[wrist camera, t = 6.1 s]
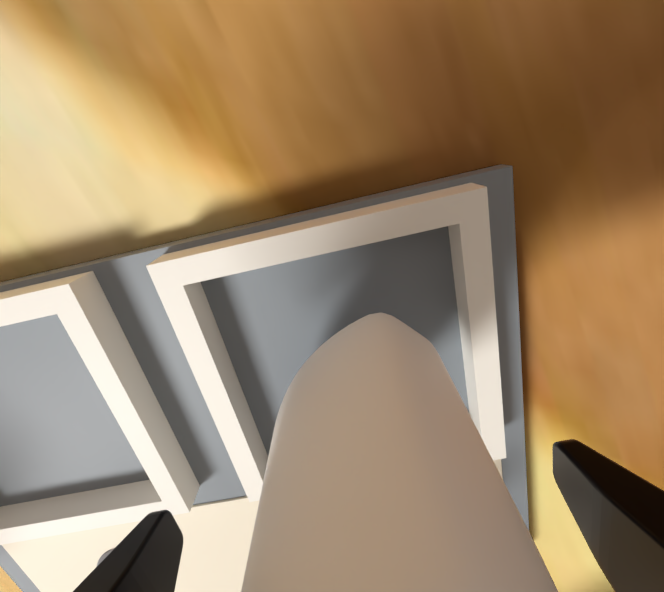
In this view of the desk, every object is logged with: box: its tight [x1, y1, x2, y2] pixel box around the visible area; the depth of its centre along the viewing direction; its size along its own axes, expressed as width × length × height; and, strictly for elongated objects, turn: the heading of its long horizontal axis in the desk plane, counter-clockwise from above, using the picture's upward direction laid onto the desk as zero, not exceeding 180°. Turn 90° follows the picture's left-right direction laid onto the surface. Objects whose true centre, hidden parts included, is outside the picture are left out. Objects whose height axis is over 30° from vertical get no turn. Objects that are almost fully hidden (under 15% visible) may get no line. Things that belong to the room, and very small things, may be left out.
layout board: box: [0, 164, 529, 592], centre depth 13 cm, size 18×24×6 cm
